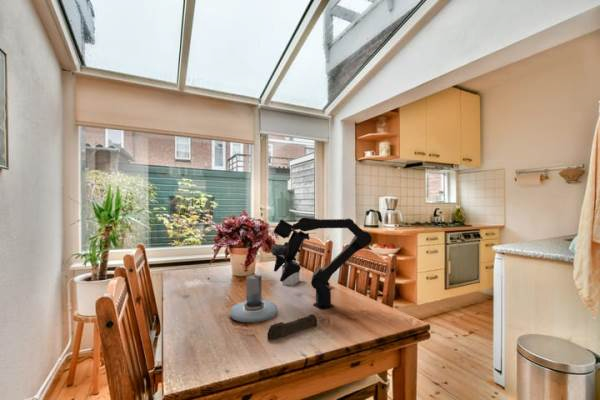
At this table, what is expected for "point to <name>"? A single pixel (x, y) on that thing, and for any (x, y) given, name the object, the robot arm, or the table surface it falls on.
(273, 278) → the table surface
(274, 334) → the hand tool
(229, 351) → the table surface
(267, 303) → the turntable
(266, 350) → the table surface
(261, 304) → the dark grey cylinder
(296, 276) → the light bulb box
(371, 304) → the table surface
